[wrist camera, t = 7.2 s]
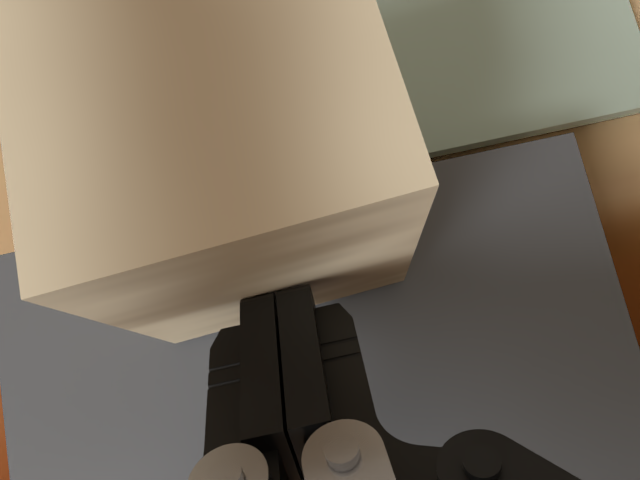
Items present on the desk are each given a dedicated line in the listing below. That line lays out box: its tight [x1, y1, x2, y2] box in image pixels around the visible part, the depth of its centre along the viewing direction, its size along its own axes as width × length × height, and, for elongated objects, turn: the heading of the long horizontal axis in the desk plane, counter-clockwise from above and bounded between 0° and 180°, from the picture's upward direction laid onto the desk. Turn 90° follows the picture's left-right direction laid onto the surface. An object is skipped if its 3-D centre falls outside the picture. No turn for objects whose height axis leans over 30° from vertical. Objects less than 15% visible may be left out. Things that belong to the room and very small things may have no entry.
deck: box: [0, 132, 640, 480], centre depth 16 cm, size 16×12×3 cm
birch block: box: [0, 0, 439, 343], centre depth 12 cm, size 6×5×7 cm
